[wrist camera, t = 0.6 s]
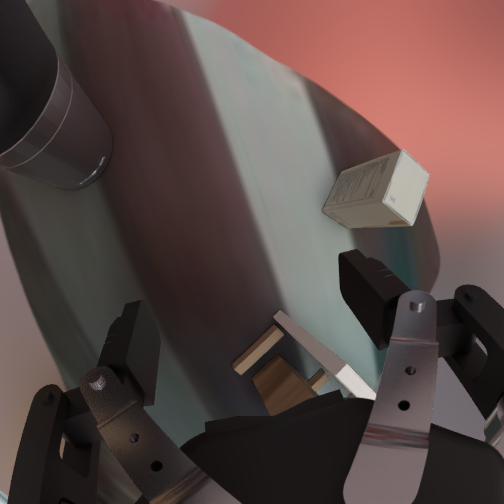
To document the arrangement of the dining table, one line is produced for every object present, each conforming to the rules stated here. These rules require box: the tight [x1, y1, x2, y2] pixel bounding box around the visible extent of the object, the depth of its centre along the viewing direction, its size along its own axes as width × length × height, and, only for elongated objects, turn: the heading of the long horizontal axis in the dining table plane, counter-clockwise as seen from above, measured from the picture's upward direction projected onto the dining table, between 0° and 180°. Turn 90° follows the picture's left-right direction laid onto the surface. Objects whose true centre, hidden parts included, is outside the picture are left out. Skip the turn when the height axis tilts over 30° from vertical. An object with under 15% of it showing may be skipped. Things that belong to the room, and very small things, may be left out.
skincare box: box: [323, 149, 430, 228], centre depth 30 cm, size 6×4×12 cm
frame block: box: [252, 354, 319, 416], centre depth 30 cm, size 4×5×12 cm
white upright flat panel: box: [232, 310, 376, 400], centre depth 29 cm, size 22×9×16 cm, turn 43°
